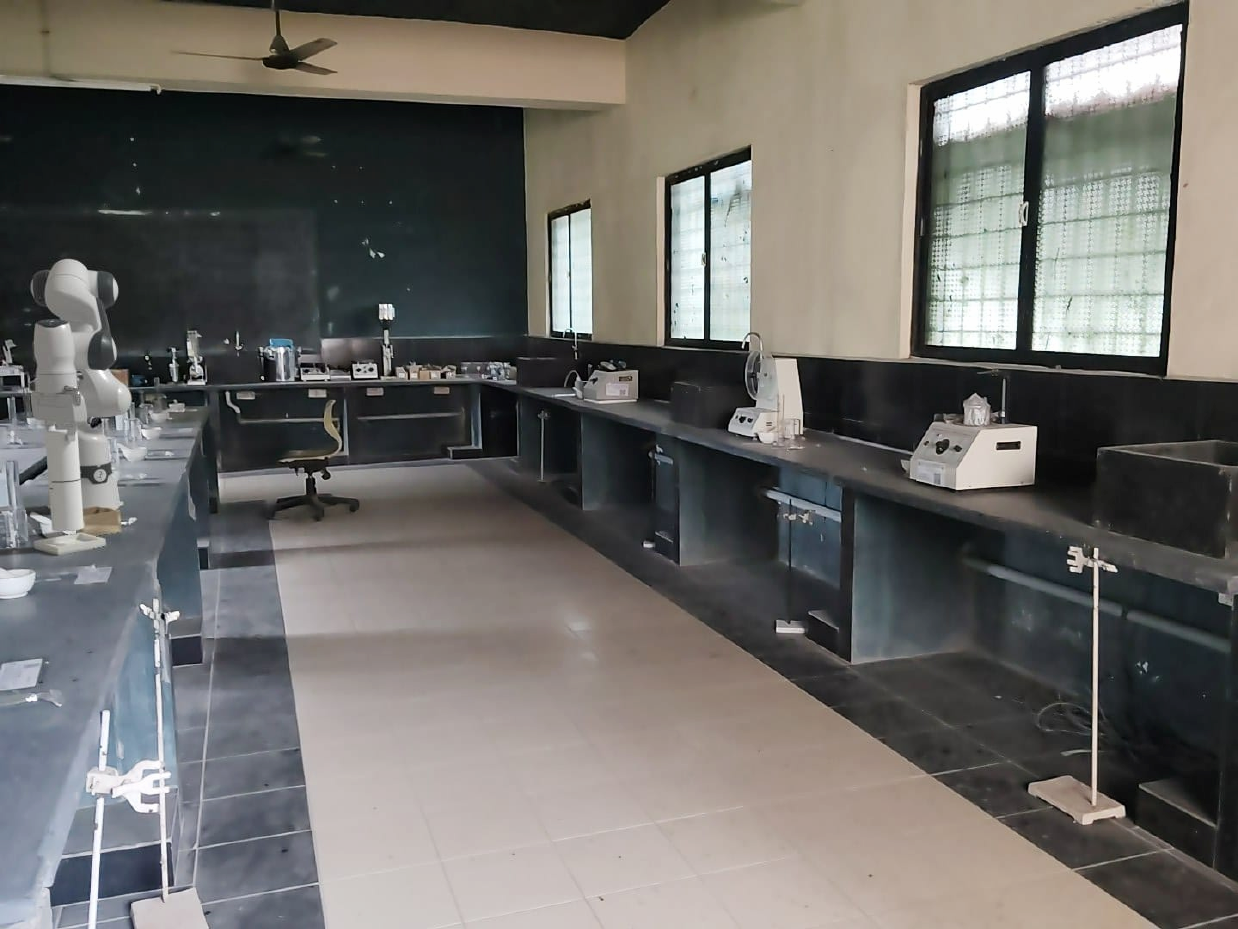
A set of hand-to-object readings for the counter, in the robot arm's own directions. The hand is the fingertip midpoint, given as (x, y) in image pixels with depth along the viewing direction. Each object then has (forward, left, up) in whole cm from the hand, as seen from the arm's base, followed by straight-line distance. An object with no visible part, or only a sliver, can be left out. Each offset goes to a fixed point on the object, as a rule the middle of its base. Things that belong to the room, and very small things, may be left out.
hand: (61, 439), depth 256 cm
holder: (-12, +12, -28) cm, 33 cm away
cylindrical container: (0, 0, -23) cm, 23 cm away
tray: (0, 0, -28) cm, 28 cm away
